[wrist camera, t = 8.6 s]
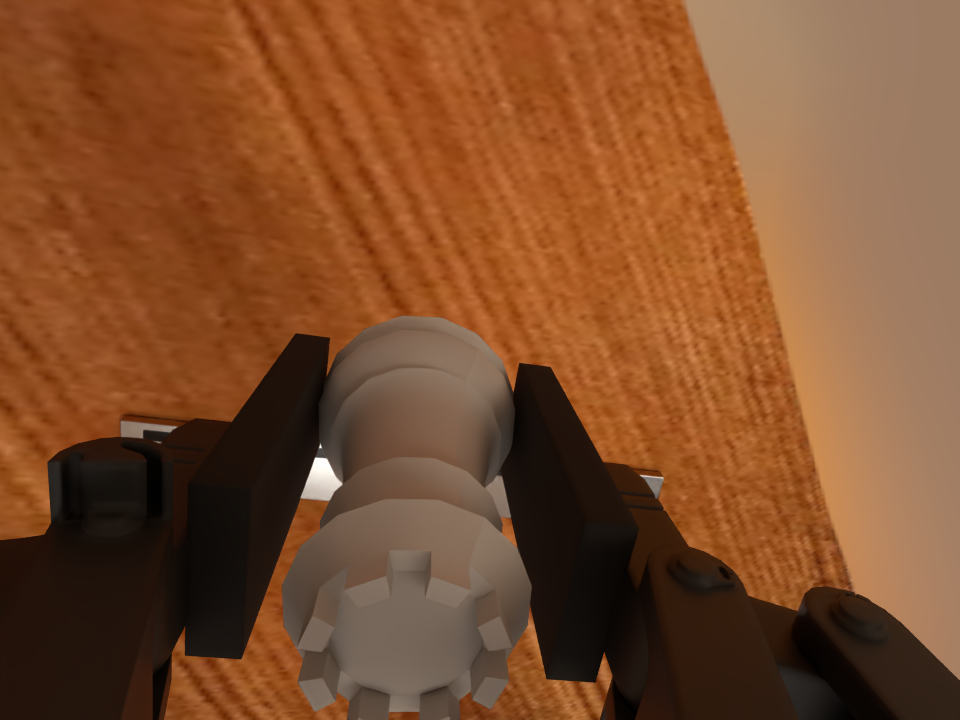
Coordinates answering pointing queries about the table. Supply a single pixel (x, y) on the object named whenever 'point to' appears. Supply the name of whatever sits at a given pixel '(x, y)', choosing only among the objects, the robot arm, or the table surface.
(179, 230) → the table surface
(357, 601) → the rook chess piece
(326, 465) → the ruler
